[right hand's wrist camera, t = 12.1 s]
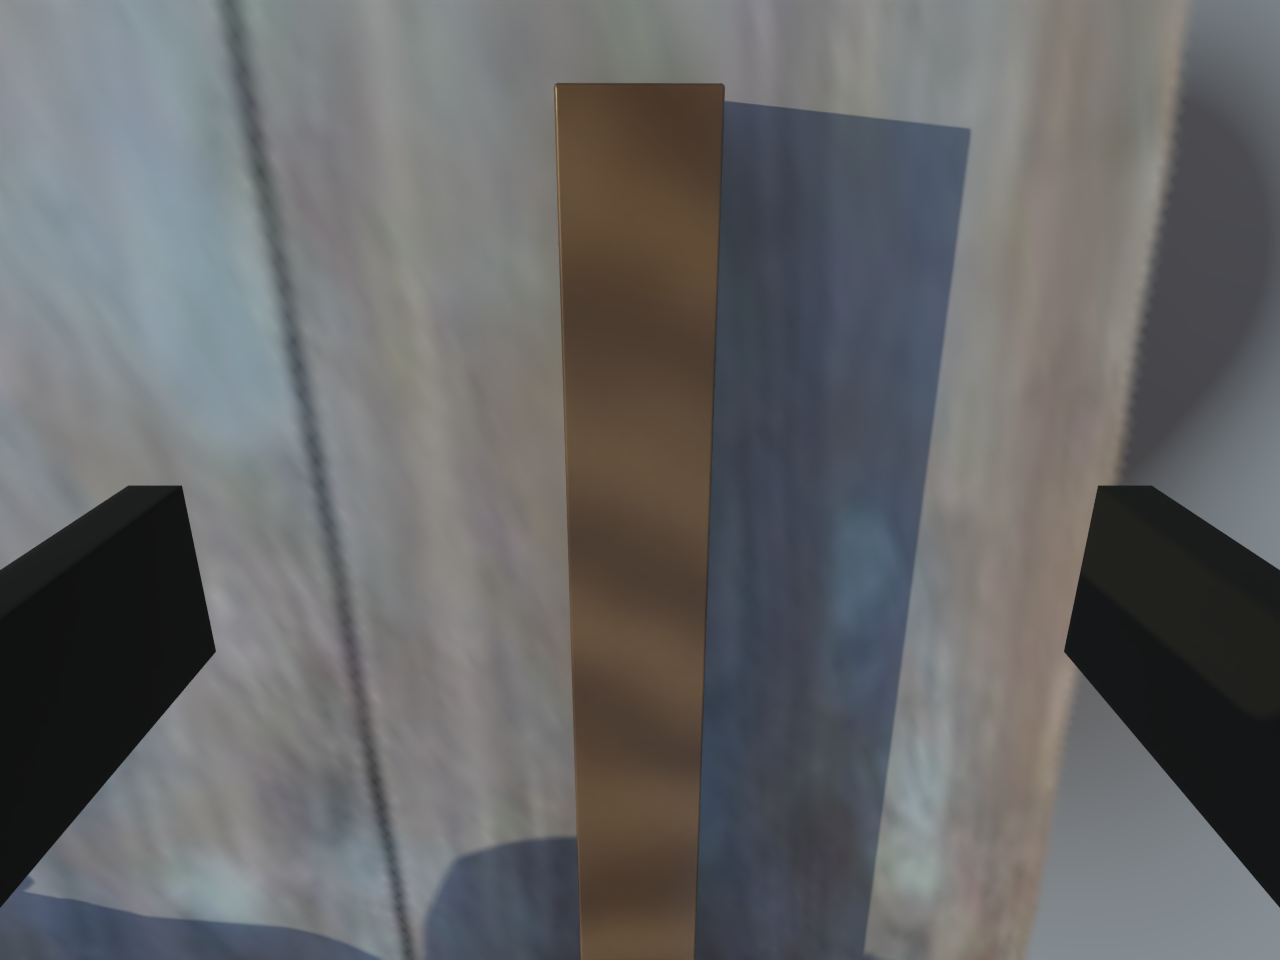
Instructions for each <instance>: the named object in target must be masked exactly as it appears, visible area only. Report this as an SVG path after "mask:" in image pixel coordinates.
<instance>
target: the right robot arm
mask: <svg viewBox="0 0 1280 960" xmlns="http://www.w3.org/2000/svg"><path fill="white" fill-rule="evenodd" d="M215 652H216V650H215V645H214V640H213V635H212V630H211V625H210V620H209V615H208V611H207V606H206V601H205V596H204V591H203V586H202V581H201V577H200V572H199V567H198V562H197V557H196V552H195V547H194V542H193V538H192V533H191V528H190V523H189V518H188V513H187V508H186V504H185V499H184V494H183V489H182V486H127V487H126V488H124V489H123V490H121V491H120V492H118V493H117V494H115V495H113V496H112V497H110V498H109V499H107V500H106V501H104V502H103V503H101V504H100V505H98V506H97V507H95V508H94V509H92V510H91V511H89V512H88V513H86V514H85V515H83V516H82V517H80V518H79V519H77V520H76V521H74V522H73V523H71V524H70V525H68V526H67V527H65V528H63V529H62V530H60V531H59V532H57V533H56V534H54V535H53V536H51V537H50V538H48V539H47V540H45V541H44V542H42V543H41V544H39V545H38V546H36V547H35V548H33V549H32V550H30V551H29V552H27V553H26V554H24V555H23V556H21V557H20V558H18V559H17V560H15V561H13V562H12V563H10V564H9V565H7V566H6V567H4V568H3V569H1V570H0V907H1V906H2V905H3V904H4V903H5V901H6V900H7V899H8V898H9V897H10V895H11V894H12V893H13V892H14V891H15V889H16V888H17V887H18V886H19V885H20V884H21V882H22V881H23V880H24V879H25V878H26V876H27V875H28V874H29V873H30V872H31V870H32V869H33V868H34V867H35V866H36V865H37V863H38V862H39V861H40V860H41V859H42V857H43V856H44V855H45V854H46V853H47V851H48V850H49V849H50V848H51V847H52V846H53V844H54V843H55V842H56V841H57V840H58V838H59V837H60V836H61V835H62V834H63V832H64V831H65V830H66V829H67V828H68V827H69V825H70V824H71V823H72V822H73V821H74V819H75V818H76V817H77V816H78V815H79V813H80V812H81V811H82V810H83V809H84V808H85V806H86V805H87V804H88V803H89V802H90V800H91V799H92V798H93V797H94V796H95V794H96V793H97V792H98V791H99V790H100V789H101V787H102V786H103V785H104V784H105V783H106V781H107V780H108V779H109V778H110V777H111V775H112V774H113V773H114V772H115V771H116V770H117V768H118V767H119V766H120V765H121V764H122V762H123V761H124V760H125V759H126V758H127V756H128V755H129V754H130V753H131V752H132V751H133V749H134V748H135V747H136V746H137V745H138V743H139V742H140V741H141V740H142V739H143V737H144V736H145V735H146V734H147V733H148V732H149V730H150V729H151V728H152V727H153V726H154V724H155V723H156V722H157V721H158V720H159V718H160V717H161V716H162V715H163V714H164V713H165V711H166V710H167V709H168V708H169V707H170V705H171V704H172V703H173V702H174V701H175V699H176V698H177V697H178V696H179V695H180V694H181V692H182V691H183V690H184V689H185V688H186V686H187V685H188V684H189V683H190V682H191V680H192V679H193V678H194V677H195V676H196V675H197V673H198V672H199V671H200V670H201V669H202V667H203V666H204V665H205V664H206V663H207V661H208V660H209V659H210V658H211V657H212V656H213V654H214V653H215ZM1064 652H1065V653H1066V654H1067V656H1068V657H1069V658H1070V659H1071V660H1072V661H1073V663H1074V664H1075V665H1076V666H1077V667H1078V669H1079V670H1080V671H1081V672H1082V673H1083V675H1084V676H1085V677H1086V678H1087V679H1088V680H1089V682H1090V683H1091V684H1092V685H1093V686H1094V688H1095V689H1096V690H1097V691H1098V692H1099V694H1100V695H1101V696H1102V697H1103V698H1104V699H1105V701H1106V702H1107V703H1108V704H1109V705H1110V707H1111V708H1112V709H1113V710H1114V711H1115V713H1116V714H1117V715H1118V716H1119V717H1120V718H1121V720H1122V721H1123V722H1124V723H1125V724H1126V726H1127V727H1128V728H1129V729H1130V730H1131V732H1132V733H1133V734H1134V735H1135V736H1136V737H1137V739H1138V740H1139V741H1140V742H1141V743H1142V745H1143V746H1144V747H1145V748H1146V749H1147V751H1148V752H1149V753H1150V754H1151V755H1152V756H1153V758H1154V759H1155V760H1156V761H1157V762H1158V764H1159V765H1160V766H1161V767H1162V768H1163V770H1164V771H1165V772H1166V773H1167V774H1168V775H1169V777H1170V778H1171V779H1172V780H1173V781H1174V783H1175V784H1176V785H1177V786H1178V787H1179V789H1180V790H1181V791H1182V792H1183V793H1184V794H1185V796H1186V797H1187V798H1188V799H1189V800H1190V802H1191V803H1192V804H1193V805H1194V806H1195V808H1196V809H1197V810H1198V811H1199V812H1200V813H1201V815H1202V816H1203V817H1204V818H1205V819H1206V821H1207V822H1208V823H1209V824H1210V825H1211V827H1212V828H1213V829H1214V830H1215V831H1216V832H1217V834H1218V835H1219V836H1220V837H1221V838H1222V840H1223V841H1224V842H1225V843H1226V844H1227V846H1228V847H1229V848H1230V849H1231V850H1232V851H1233V853H1234V854H1235V855H1236V856H1237V857H1238V858H1239V860H1240V861H1241V862H1242V863H1243V864H1244V866H1245V867H1246V868H1247V869H1248V870H1249V872H1250V873H1251V874H1252V875H1253V876H1254V877H1255V879H1256V880H1257V881H1258V882H1259V884H1260V885H1261V886H1262V887H1263V888H1264V889H1265V891H1266V892H1267V893H1268V894H1269V895H1270V897H1271V898H1272V899H1273V900H1274V901H1275V902H1276V904H1277V905H1278V906H1279V907H1280V570H1279V569H1277V568H1276V567H1274V566H1273V565H1271V564H1269V563H1268V562H1267V561H1265V560H1263V559H1262V558H1260V557H1259V556H1257V555H1256V554H1254V553H1253V552H1251V551H1250V550H1248V549H1247V548H1245V547H1244V546H1242V545H1241V544H1239V543H1238V542H1236V541H1235V540H1233V539H1232V538H1230V537H1229V536H1227V535H1226V534H1224V533H1223V532H1221V531H1220V530H1218V529H1216V528H1215V527H1213V526H1212V525H1210V524H1209V523H1207V522H1206V521H1204V520H1203V519H1201V518H1200V517H1198V516H1197V515H1195V514H1194V513H1192V512H1191V511H1189V510H1188V509H1186V508H1185V507H1183V506H1182V505H1180V504H1179V503H1177V502H1176V501H1174V500H1173V499H1171V498H1170V497H1168V496H1167V495H1165V494H1164V493H1162V492H1160V491H1159V490H1157V489H1156V488H1154V487H1153V486H1098V489H1097V494H1096V499H1095V504H1094V508H1093V513H1092V518H1091V523H1090V528H1089V533H1088V538H1087V542H1086V547H1085V552H1084V557H1083V562H1082V567H1081V572H1080V577H1079V581H1078V586H1077V591H1076V596H1075V601H1074V606H1073V611H1072V615H1071V620H1070V625H1069V630H1068V635H1067V640H1066V645H1065V650H1064Z"/></svg>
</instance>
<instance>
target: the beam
mask: <svg viewBox="0 0 1280 960" xmlns="http://www.w3.org/2000/svg"><path fill="white" fill-rule="evenodd" d="M724 96H725V87H724V85H723V84H717V83H557V84H555V86H554V102H555V134H556V167H557V200H558V232H559V265H560V298H561V331H562V363H563V396H564V429H565V461H566V494H567V527H568V560H569V592H570V625H571V658H572V690H573V723H574V756H575V788H576V821H577V854H578V887H579V919H580V952H581V960H695V938H696V909H697V879H698V850H699V821H700V792H701V763H702V734H703V705H704V676H705V647H706V618H707V589H708V560H709V531H710V502H711V473H712V444H713V415H714V386H715V357H716V328H717V299H718V270H719V241H720V212H721V183H722V154H723V125H724Z"/></svg>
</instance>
